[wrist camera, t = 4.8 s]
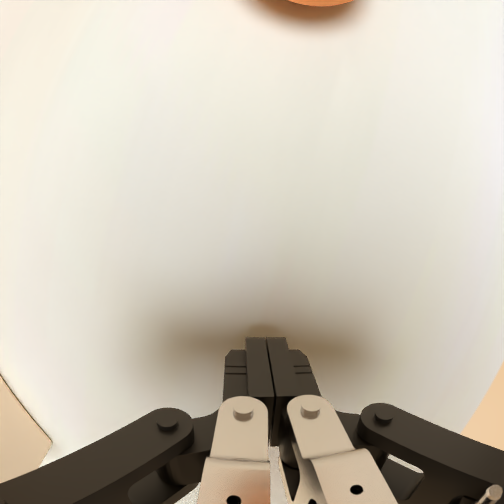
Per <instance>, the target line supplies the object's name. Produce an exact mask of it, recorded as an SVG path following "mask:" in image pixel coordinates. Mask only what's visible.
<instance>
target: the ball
mask: <svg viewBox="0 0 504 504" xmlns="http://www.w3.org/2000/svg"><path fill="white" fill-rule="evenodd" d="M288 1H291V2H294V3H298V4H303V5H310V6H334V5H339V4H344V3H348V2H351V1H353V0H288Z"/></svg>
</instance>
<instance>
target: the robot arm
mask: <svg viewBox="0 0 504 504" xmlns="http://www.w3.org/2000/svg"><path fill="white" fill-rule="evenodd" d="M269 439H270V446H279V452H280V455H279V461H278V465H279V469H280V473H281V477H282V481H283V485H284V489H285V493H286V497H287V501H288V504H504V451H502V450H500V449H497V448H494V447H491V446H488V445H486V444H483V443H480V442H477V441H475V440H472V439H470V438H467V437H465V436H462V435H460V434H457V433H455V432H452V431H450V430H447V429H445V428H442V427H440V426H438V425H435V424H433V423H431V422H428V421H426V420H424V419H421V418H419V417H417V416H415V415H412V414H410V413H408V412H406V411H403V410H401V409H399V408H397V407H395V406H392V405H389V404H385V403H375V404H371V405H369V406H367V407H365V408H364V409H363V410H362V412H361V415H359V414H349V413H342V412H339V411H336V410H334V408H333V406H332V404H331V403H330V402H329V401H328V400H326V399H324V398H322V397H321V395H320V392H319V389H318V386H317V384H316V381H315V378H314V375H313V374H312V370H311V367H310V364H309V361H308V359H307V357H306V356H305V355H304V354H303V353H302V352H301V351H300V350H289V349H288V345H287V342H286V338H285V337H278V338H270V337H266V339H265V338H259V337H246V339H245V350H231V351H230V352H229V353H228V355H227V356H226V357H225V372H224V389H223V402H222V404H221V405H220V407H219V409H218V410H217V411H216V412H214V413H213V414H211V415H208V416H205V417H200V418H194V419H191V417H190V416H189V415H188V414H187V413H186V412H184V411H182V410H179V409H176V408H161V409H157V410H154V411H152V412H150V413H148V414H147V415H145V416H143V417H141V418H139V419H138V420H136V421H134V422H132V423H130V424H128V425H127V426H125V427H123V428H121V429H119V430H117V431H115V432H113V433H112V434H110V435H108V436H106V437H104V438H102V439H100V440H98V441H96V442H94V443H92V444H90V445H88V446H86V447H84V448H82V449H80V450H78V451H75V452H73V453H71V454H69V455H67V456H65V457H63V458H60V459H58V460H56V461H54V462H52V463H49V464H47V465H45V466H42V467H40V468H38V469H35V470H33V471H31V472H28V473H26V474H23V475H21V476H18V477H16V478H13V479H11V480H8V481H5V482H3V483H0V504H174V503H176V502H177V501H179V500H180V499H181V498H183V497H184V496H185V495H187V494H188V493H189V492H191V491H192V490H193V489H194V488H195V487H197V485H198V484H199V482H201V484H200V489H199V494H198V499H197V504H270V461H268V447H269ZM389 454H391V455H393V456H395V457H397V458H399V459H401V460H403V461H405V462H407V463H409V464H412V465H414V466H416V467H418V468H420V469H421V470H422V471H423V472H424V473H417V472H415V471H413V470H411V469H409V468H406V467H404V466H402V465H400V464H398V463H396V462H394V461H392V460H390V459H388V456H389Z"/></svg>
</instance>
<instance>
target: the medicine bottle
mask: <svg viewBox="0 0 504 504" xmlns="http://www.w3.org/2000/svg"><path fill="white" fill-rule="evenodd" d="M51 444H52V442H51V440H50V439H49V438H48V437H47V435H46V434H45V433H44V432H43V431H42V430H41V429H40V427H39V426H38V425H37V424H36V423H35V422H34V420H33V419H32V418H31V417H30V415H29V414H28V413H27V412H26V410H25V409H24V408H23V407H22V405H21V404H20V403H19V401H18V400H17V399H16V397H15V396H14V395H13V393H12V392H11V390H10V389H9V388H8V386H7V385H6V383H5V382H4V380H3V379H2V377H1V376H0V483H3V482H5V481H8V480H11V479H13V478H16V477H18V476H21V475H23V474H26V473H28V472H31V471H33V470H35V469H38V468H39V466H40V464H41V463H42V461H43V459H44V457H45V455H46V454H47V452H48V450H49V448H50V447H51Z"/></svg>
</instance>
